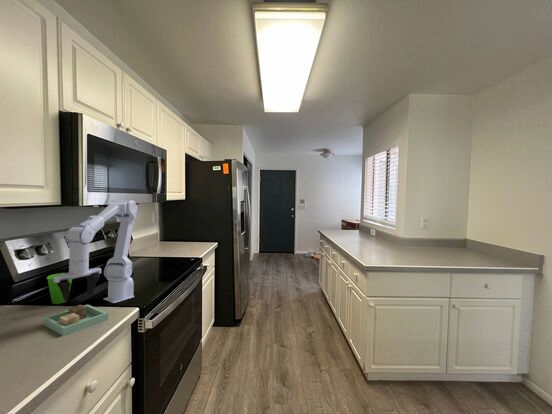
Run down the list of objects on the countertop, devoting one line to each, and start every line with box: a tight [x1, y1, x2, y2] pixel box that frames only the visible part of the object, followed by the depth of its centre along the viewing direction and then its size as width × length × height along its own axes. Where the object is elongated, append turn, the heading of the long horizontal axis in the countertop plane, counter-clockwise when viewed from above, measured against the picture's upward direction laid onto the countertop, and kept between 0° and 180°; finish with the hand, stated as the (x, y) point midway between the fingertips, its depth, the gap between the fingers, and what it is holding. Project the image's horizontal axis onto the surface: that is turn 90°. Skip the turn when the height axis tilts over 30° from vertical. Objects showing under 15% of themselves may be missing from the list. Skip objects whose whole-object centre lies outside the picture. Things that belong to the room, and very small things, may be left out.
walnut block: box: [68, 304, 87, 320], centre depth 98 cm, size 4×4×4 cm
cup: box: [46, 272, 73, 305], centre depth 113 cm, size 9×9×11 cm
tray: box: [42, 304, 109, 337], centre depth 95 cm, size 14×14×3 cm
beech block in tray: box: [60, 313, 79, 326], centre depth 90 cm, size 4×4×4 cm
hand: (78, 297), depth 97 cm, fingers open, 7 cm apart
